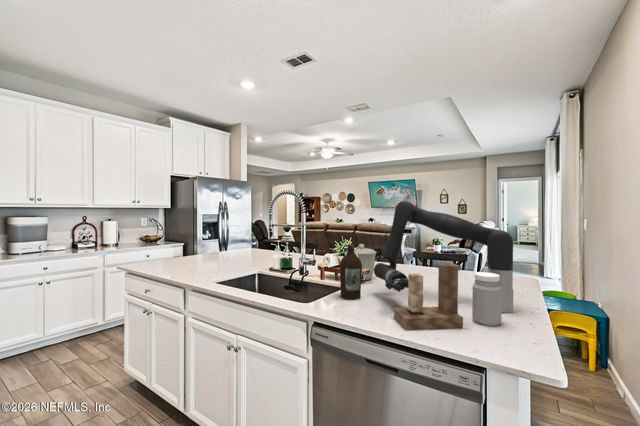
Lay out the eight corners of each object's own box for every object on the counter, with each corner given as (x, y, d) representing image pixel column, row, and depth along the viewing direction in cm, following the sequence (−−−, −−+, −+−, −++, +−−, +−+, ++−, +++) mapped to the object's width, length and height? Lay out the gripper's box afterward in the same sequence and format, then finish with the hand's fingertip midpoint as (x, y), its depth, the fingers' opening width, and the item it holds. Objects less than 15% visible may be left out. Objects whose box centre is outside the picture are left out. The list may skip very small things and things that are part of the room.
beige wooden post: (418, 321, 116) (418, 273, 116) (422, 325, 112) (423, 275, 112) (408, 321, 116) (408, 273, 116) (412, 325, 112) (412, 276, 112)
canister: (340, 277, 191) (341, 243, 191) (365, 274, 199) (365, 242, 199) (356, 283, 175) (356, 246, 175) (382, 280, 183) (382, 245, 182)
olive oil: (337, 294, 152) (337, 243, 152) (358, 293, 154) (358, 243, 154) (342, 300, 142) (342, 246, 142) (364, 299, 143) (364, 246, 143)
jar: (475, 315, 123) (475, 270, 122) (503, 321, 116) (504, 273, 116) (468, 322, 115) (469, 274, 115) (498, 329, 109) (499, 278, 109)
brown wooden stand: (447, 316, 121) (447, 261, 121) (464, 328, 109) (464, 267, 109) (394, 318, 119) (394, 262, 119) (405, 330, 108) (405, 268, 107)
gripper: (380, 270, 134) (392, 279, 118) (411, 270, 136) (428, 278, 119) (380, 288, 134) (392, 299, 118) (411, 287, 136) (428, 298, 120)
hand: (410, 288), depth 119 cm, fingers open, 8 cm apart
